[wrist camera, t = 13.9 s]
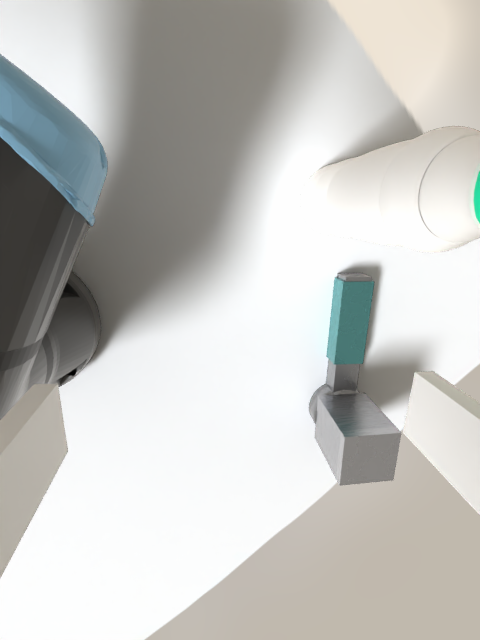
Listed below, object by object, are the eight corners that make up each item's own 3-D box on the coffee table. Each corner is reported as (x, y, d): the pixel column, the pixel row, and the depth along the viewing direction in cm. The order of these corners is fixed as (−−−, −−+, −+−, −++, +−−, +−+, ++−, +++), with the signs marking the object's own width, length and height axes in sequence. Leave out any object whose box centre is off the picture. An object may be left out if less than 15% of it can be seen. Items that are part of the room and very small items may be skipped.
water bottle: (372, 209, 38) (667, 209, 14) (319, 246, 38) (517, 305, 15) (343, 150, 35) (636, 33, 12) (286, 191, 36) (460, 155, 12)
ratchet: (356, 425, 47) (378, 455, 41) (306, 428, 46) (322, 459, 40) (378, 273, 40) (407, 283, 34) (321, 273, 39) (341, 283, 34)
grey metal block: (314, 437, 43) (339, 485, 36) (317, 395, 41) (344, 437, 34) (359, 433, 44) (393, 480, 36) (364, 392, 42) (401, 432, 35)
